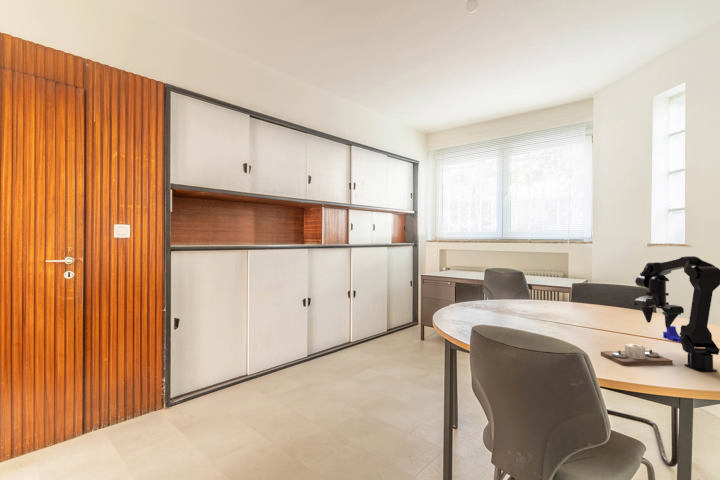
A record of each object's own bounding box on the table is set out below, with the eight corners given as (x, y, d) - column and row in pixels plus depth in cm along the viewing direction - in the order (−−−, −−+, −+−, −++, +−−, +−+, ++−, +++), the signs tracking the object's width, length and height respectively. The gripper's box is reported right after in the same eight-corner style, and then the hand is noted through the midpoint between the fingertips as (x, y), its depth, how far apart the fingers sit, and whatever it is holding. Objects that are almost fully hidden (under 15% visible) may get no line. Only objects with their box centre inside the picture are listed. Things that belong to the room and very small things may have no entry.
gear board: (672, 364, 133) (672, 360, 133) (622, 365, 132) (622, 361, 132) (646, 353, 145) (646, 350, 145) (600, 354, 144) (600, 351, 144)
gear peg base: (662, 357, 136) (662, 352, 136) (618, 358, 136) (618, 353, 136) (651, 353, 141) (651, 347, 141) (608, 354, 141) (608, 348, 141)
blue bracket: (663, 337, 168) (663, 325, 168) (673, 337, 167) (673, 325, 167) (682, 345, 156) (682, 332, 156) (693, 345, 155) (693, 332, 155)
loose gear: (649, 358, 135) (649, 347, 135) (633, 358, 135) (633, 348, 135) (636, 352, 142) (635, 342, 142) (621, 353, 142) (621, 343, 142)
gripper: (622, 287, 159) (623, 320, 159) (658, 294, 140) (659, 331, 140) (645, 287, 159) (646, 319, 159) (684, 293, 140) (685, 330, 140)
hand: (657, 325), depth 150 cm, fingers open, 9 cm apart
